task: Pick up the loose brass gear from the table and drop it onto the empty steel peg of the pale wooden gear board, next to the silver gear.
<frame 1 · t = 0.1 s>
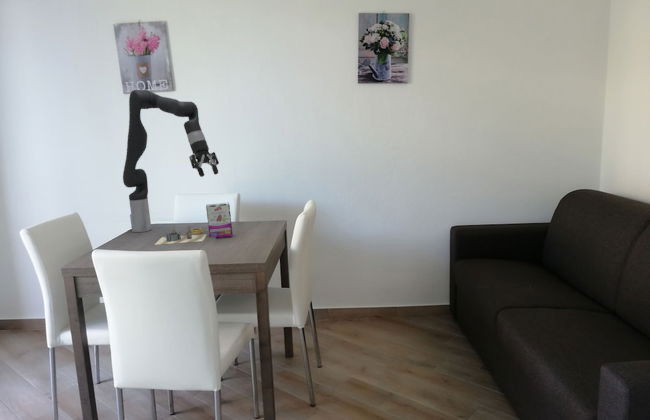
hand: (209, 175, 216), 31 cm above the table, tool tilted 20°, fingers open, 8 cm apart
gear board: (181, 241, 223), on the table
candy bar box: (221, 237, 229), on the table
silver gear: (173, 239, 222), resting on gear board
brass gear: (196, 235, 235), on the table
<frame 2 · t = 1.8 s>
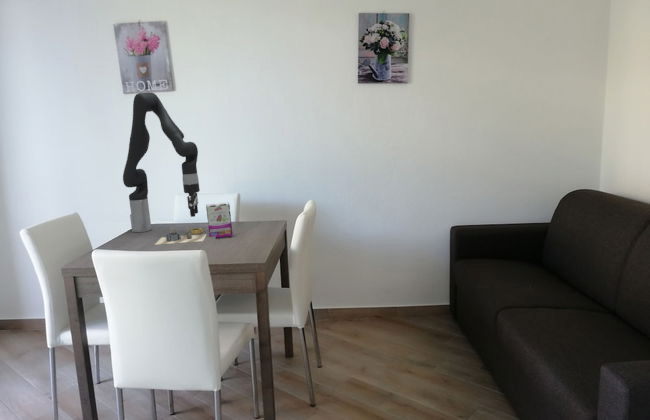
hand: (194, 214, 233), 10 cm above the table, tool pointing down, fingers open, 8 cm apart
nothing on the table moved.
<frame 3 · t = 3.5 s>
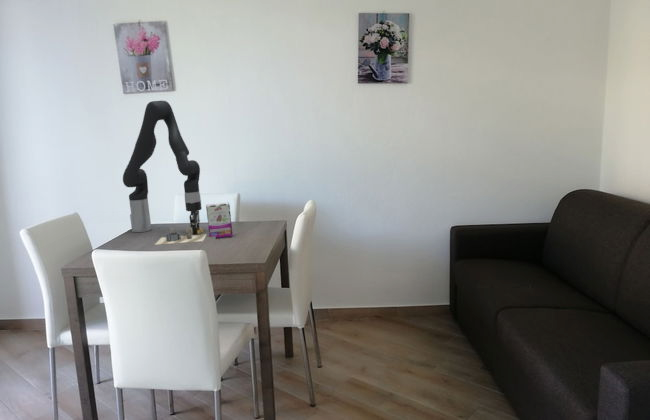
hand: (196, 233, 235), 1 cm above the table, tool pointing down, fingers closed on brass gear, 6 cm apart
brass gear: (196, 235, 235), on the table, touching gripper
everything else where it was.
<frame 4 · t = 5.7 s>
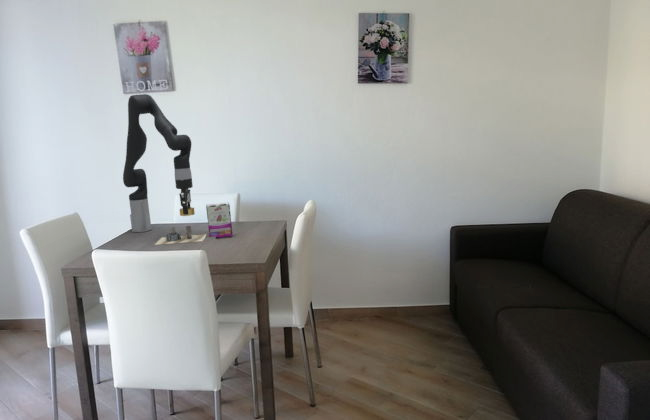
hand: (187, 212, 221), 14 cm above the table, tool pointing down, fingers closed on brass gear, 6 cm apart
brass gear: (187, 214, 221), point 13 cm above the table, touching gripper
everything else where it was.
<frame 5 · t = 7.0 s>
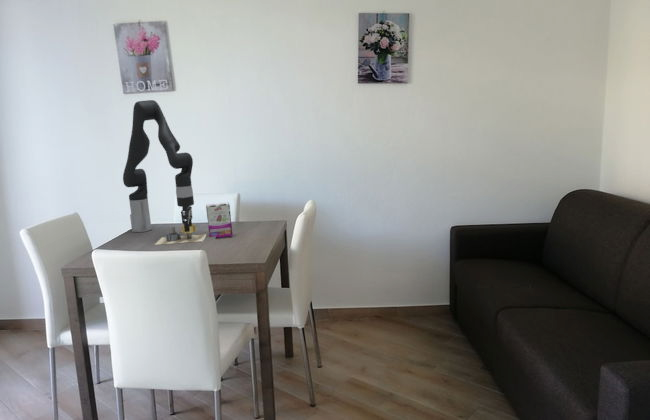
hand: (188, 229, 222), 5 cm above the table, tool pointing down, fingers closed on brass gear, 6 cm apart
brass gear: (188, 231, 223), point 5 cm above the table, touching gripper
everything else where it was.
when the fingers open (5 cm above the table, at t = 7.9 s): brass gear drops 3 cm, resting on gear board.
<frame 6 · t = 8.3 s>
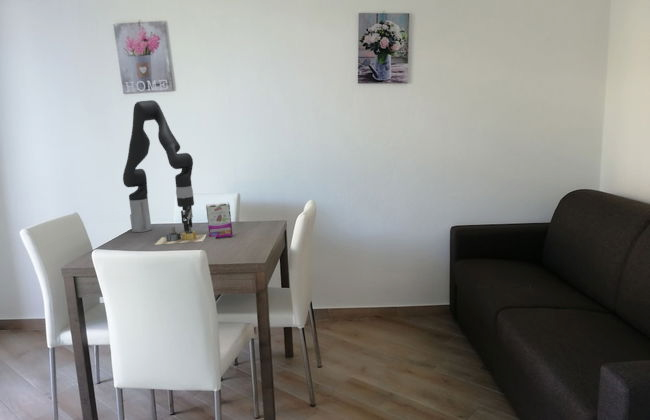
hand: (188, 229, 222), 6 cm above the table, tool pointing down, fingers open, 8 cm apart
brass gear: (189, 238, 223), point 1 cm above the table, touching gear board
everything else where it was.
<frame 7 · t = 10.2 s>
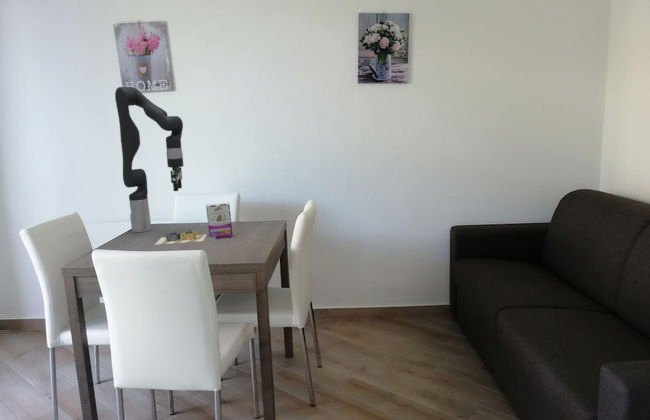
hand: (177, 189, 234), 23 cm above the table, tool pointing down, fingers open, 8 cm apart
nothing on the table moved.
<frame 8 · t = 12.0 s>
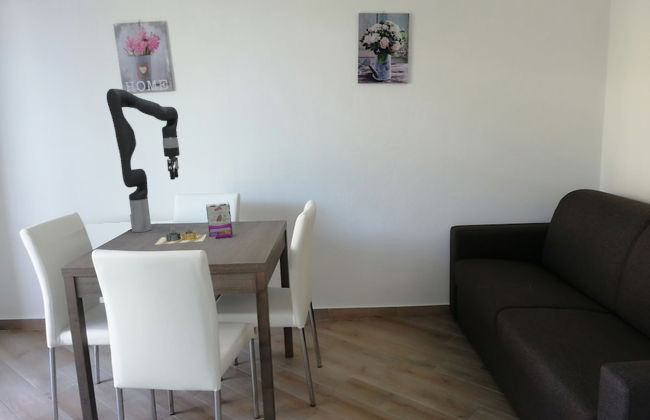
hand: (174, 178, 240), 28 cm above the table, tool pointing down, fingers open, 8 cm apart
nothing on the table moved.
at the end: brass gear 0.1 cm from the target spot, point 1.2 cm above the table; brass gear tilted 0°; the gripper is holding nothing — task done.
